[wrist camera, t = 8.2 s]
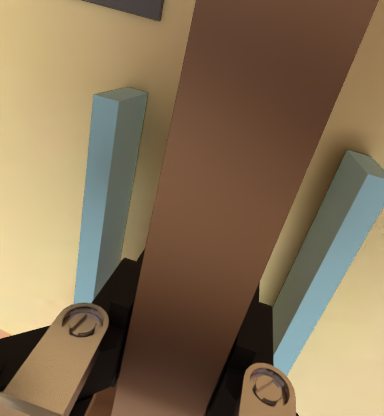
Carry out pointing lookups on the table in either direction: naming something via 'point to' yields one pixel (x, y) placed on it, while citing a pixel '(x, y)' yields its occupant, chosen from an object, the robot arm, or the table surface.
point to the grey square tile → (135, 7)
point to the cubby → (305, 261)
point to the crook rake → (228, 187)
